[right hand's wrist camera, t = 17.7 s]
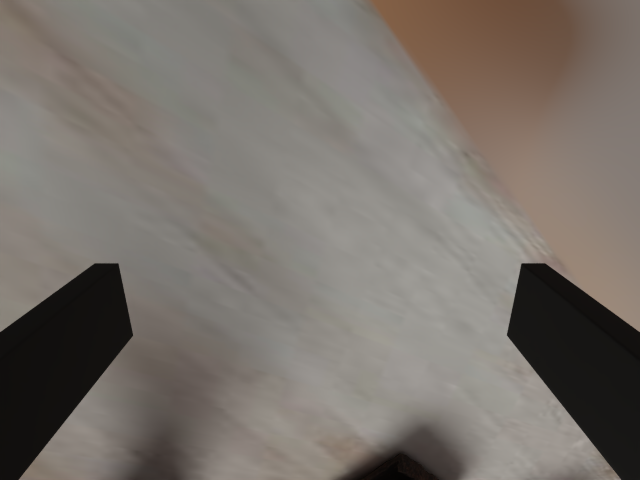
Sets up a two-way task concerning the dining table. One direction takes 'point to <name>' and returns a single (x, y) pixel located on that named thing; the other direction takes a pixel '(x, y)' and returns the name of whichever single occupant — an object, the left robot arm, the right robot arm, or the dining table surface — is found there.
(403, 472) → the dark brown irregular piece
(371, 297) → the dining table surface
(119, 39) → the dining table surface
